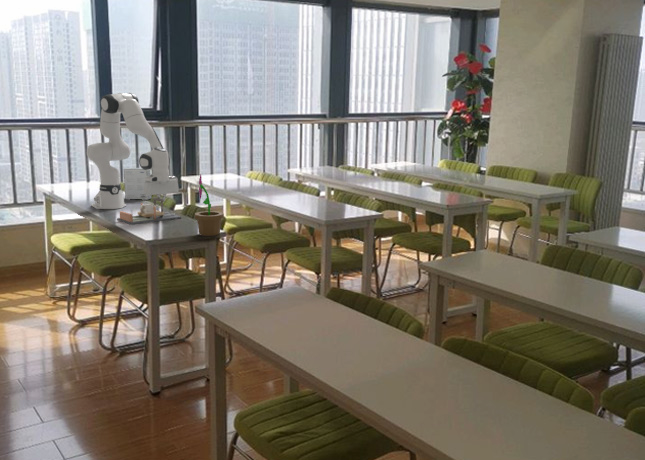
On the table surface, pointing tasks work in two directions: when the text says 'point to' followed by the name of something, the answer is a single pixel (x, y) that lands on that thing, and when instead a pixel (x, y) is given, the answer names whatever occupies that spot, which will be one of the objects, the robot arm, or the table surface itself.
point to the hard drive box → (135, 183)
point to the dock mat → (152, 219)
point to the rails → (152, 216)
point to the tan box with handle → (151, 209)
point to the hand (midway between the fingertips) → (161, 201)
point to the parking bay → (130, 218)
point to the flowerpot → (208, 217)
